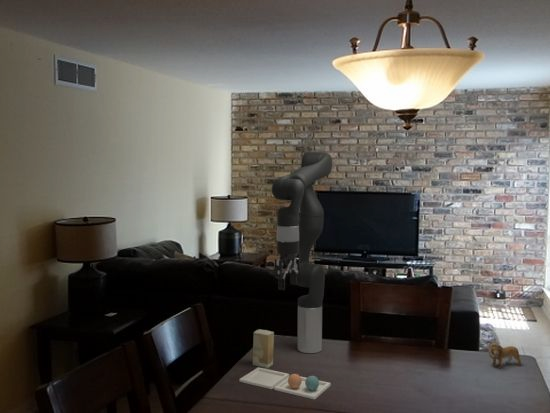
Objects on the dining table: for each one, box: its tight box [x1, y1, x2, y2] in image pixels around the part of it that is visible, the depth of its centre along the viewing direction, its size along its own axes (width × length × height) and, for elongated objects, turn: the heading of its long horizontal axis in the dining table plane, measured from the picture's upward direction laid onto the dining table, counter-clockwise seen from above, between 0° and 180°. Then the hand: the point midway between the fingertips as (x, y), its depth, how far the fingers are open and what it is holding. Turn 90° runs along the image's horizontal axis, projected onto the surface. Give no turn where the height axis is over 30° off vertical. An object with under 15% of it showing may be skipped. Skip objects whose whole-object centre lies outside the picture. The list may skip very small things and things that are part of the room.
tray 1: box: [238, 366, 290, 390], centre depth 185 cm, size 12×12×1 cm
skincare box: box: [252, 328, 275, 369], centre depth 198 cm, size 6×4×12 cm
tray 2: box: [273, 375, 332, 400], centre depth 178 cm, size 12×14×1 cm
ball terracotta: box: [288, 373, 302, 388], centre depth 178 cm, size 4×4×4 cm
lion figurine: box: [487, 342, 522, 369], centre depth 199 cm, size 15×5×9 cm, turn 115°
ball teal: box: [305, 375, 320, 390], centre depth 177 cm, size 4×4×4 cm
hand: (287, 287), depth 188 cm, fingers open, 8 cm apart
